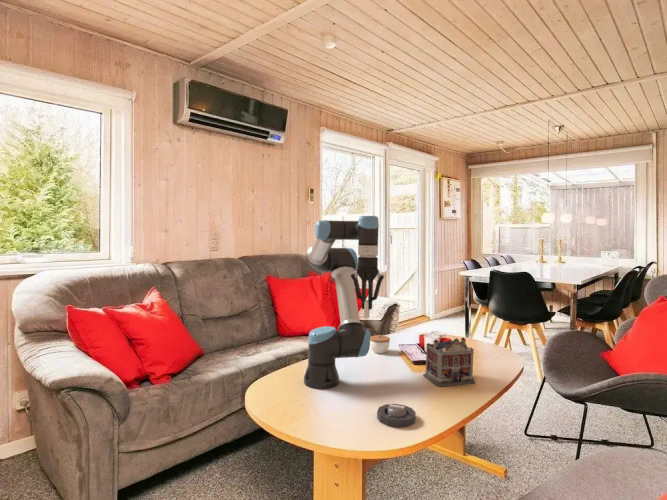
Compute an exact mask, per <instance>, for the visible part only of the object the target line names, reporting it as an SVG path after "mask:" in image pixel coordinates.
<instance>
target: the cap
mask: <svg viewBox="0 0 667 500" xmlns="http://www.w3.org/2000/svg"><path fill="white" fill-rule="evenodd" d="M389 404H390V406H388V414H387V415H389V416H393V417H404V416H406V408H405V406H406V405H405V406H402V405H403V404H400V405H391V404H392V403H389Z"/></svg>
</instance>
